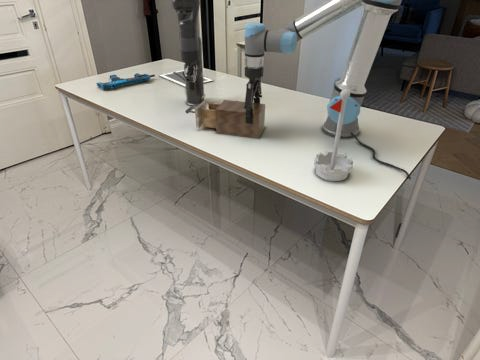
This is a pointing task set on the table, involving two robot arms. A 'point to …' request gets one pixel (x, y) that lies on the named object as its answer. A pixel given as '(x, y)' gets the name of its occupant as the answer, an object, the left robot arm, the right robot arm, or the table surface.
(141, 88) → the table surface
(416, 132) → the table surface
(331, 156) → the flag stand
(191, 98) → the left robot arm
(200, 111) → the drawer
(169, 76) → the tablet
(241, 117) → the cabinet
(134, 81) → the submachine gun
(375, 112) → the table surface
